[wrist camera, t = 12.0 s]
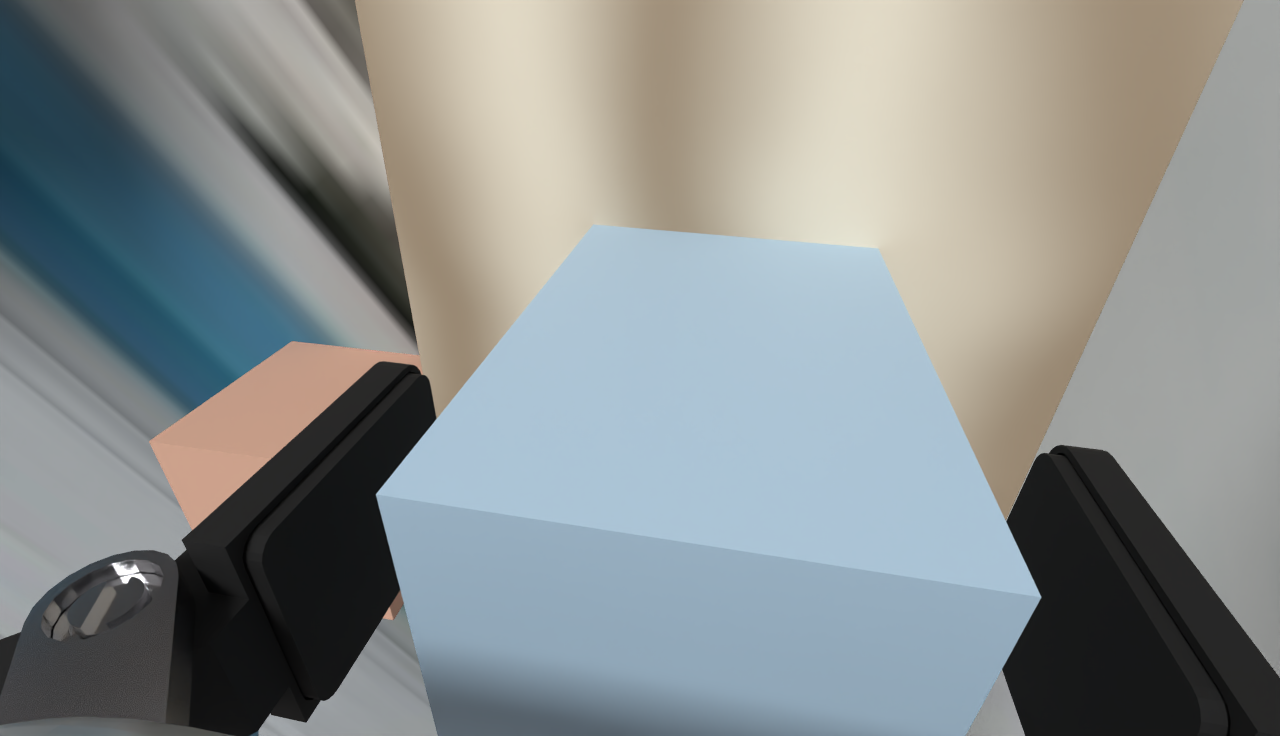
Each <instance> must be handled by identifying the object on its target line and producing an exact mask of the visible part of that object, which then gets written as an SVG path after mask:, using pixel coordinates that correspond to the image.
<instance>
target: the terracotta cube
mask: <svg viewBox="0 0 1280 736" xmlns="http://www.w3.org/2000/svg"><path fill="white" fill-rule="evenodd" d="M380 361H386V362H394V363H403V364H411V365H415V366H417V367H418V369H419V370H420V372H421V375H423V371H422V366H421V360H420V356H419V355H410V354H401V353H392V352H383V351H375V350H366V349H357V348H348V347H339V346H330V345H321V344H312V343H303V342H294V341H292V342H290V343H289V344H287V345H286V346H285V347H283V348H282V349H280V350H279V351H277V352H276V353H275V354H273V355H272V356H270V357H269V358H267V359H266V360H265V361H263V362H262V363H260V364H259V365H257V366H256V367H255V368H253V369H252V370H250V371H249V372H247V373H246V374H245V375H243V376H242V377H240V378H239V379H237V380H236V381H235V382H233V383H232V384H230V385H229V386H227V387H226V388H225V389H223V390H222V391H220V392H219V393H217V394H216V395H215V396H213V397H212V398H210V399H209V400H207V401H206V402H205V403H203V404H202V405H200V406H199V407H197V408H196V409H195V410H193V411H192V412H190V413H189V414H187V415H186V416H185V417H183V418H182V419H180V420H179V421H177V422H176V423H175V424H173V425H172V426H170V427H169V428H167V429H166V430H165V431H163V432H162V433H160V434H159V435H157V436H156V437H155V438H153V439H152V440H150V441H149V443H150V445H151V447H152V449H153V451H154V453H155V455H156V457H157V459H158V461H159V463H160V465H161V467H162V469H163V471H164V473H165V475H166V477H167V479H168V481H169V483H170V486H171V488H172V490H173V492H174V494H175V496H176V498H177V500H178V502H179V504H180V506H181V508H182V510H183V512H184V514H185V516H186V518H187V520H188V522H189V524H190V526H191V528H192V530H193V529H194V528H195V527H197V526H198V525H199V524H200V523H201V522H202V521H203V520H204V519H205V518H206V517H208V516H209V515H210V514H211V513H212V512H213V511H214V510H215V509H216V508H217V507H219V506H220V505H221V504H222V503H223V502H224V501H225V500H226V499H227V498H228V497H230V496H231V495H232V494H233V493H234V492H235V491H236V490H237V489H238V488H239V487H241V486H242V485H243V484H244V483H245V482H246V481H247V480H248V479H249V478H250V477H252V476H253V475H254V474H255V473H256V472H257V471H258V470H259V469H260V468H261V467H263V466H264V465H265V464H266V463H267V462H268V461H269V460H270V459H271V458H272V457H274V456H275V455H276V454H277V453H278V452H279V451H280V450H281V449H282V448H283V447H285V446H286V445H287V444H288V443H289V442H290V441H291V440H292V439H293V438H294V437H296V436H297V435H298V434H299V433H300V432H301V431H302V430H303V429H304V428H305V427H307V426H308V425H309V424H310V423H311V422H312V421H313V420H314V419H315V418H316V417H318V416H319V415H320V414H321V413H322V412H323V411H324V410H325V409H326V408H327V407H329V406H330V405H331V404H332V403H333V402H334V401H335V400H336V399H337V398H338V397H340V396H341V395H342V394H343V393H344V392H345V391H346V390H347V389H348V388H349V387H351V386H352V385H353V384H354V383H355V382H356V381H357V380H358V379H359V378H360V377H361V376H363V375H364V374H365V373H366V372H367V371H368V370H369V369H370V368H371V367H372V366H374V365H375V364H376V363H378V362H380ZM403 604H404V602H403V598H402V594H401V590H400V591H399V593H398V595H397V596H396V598H395V599H394V601H393V602H392V604H391V606H390V607H389V609H388V610H387V612H386V614H385V615H384V617H383V618H384V619H390V620H394V619H395V617H396V615H397V614H398V612H399V610H400V609H401V607H402V605H403Z"/></svg>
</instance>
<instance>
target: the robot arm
mask: <svg viewBox="0 0 1280 736" xmlns="http://www.w3.org/2000/svg"><path fill="white" fill-rule="evenodd" d="M436 419H437V418H436V413H435V407H434V402H433V396H432V391H431V385H430V381H429V379H428V377H427V376H425V375H421V372H420V370H419V369H418V367H417V366H415V365H411V364H403V363H394V362H386V361H380V362H378V363H376V364H375V365H374V366H372V367H371V368H370V369H369V370H368V371H367V372H366V373H365V374H364V375H363V376H361V377H360V378H359V379H358V380H357V381H356V382H355V383H354V384H353V385H352V386H351V387H349V388H348V389H347V390H346V391H345V392H344V393H343V394H342V395H341V396H340V397H338V398H337V399H336V400H335V401H334V402H333V403H332V404H331V405H330V406H329V407H327V408H326V409H325V410H324V411H323V412H322V413H321V414H320V415H319V416H318V417H316V418H315V419H314V420H313V421H312V422H311V423H310V424H309V425H308V426H307V427H305V428H304V429H303V430H302V431H301V432H300V433H299V434H298V435H297V436H296V437H294V438H293V439H292V440H291V441H290V442H289V443H288V444H287V445H286V446H285V447H283V448H282V449H281V450H280V451H279V452H278V453H277V454H276V455H275V456H274V457H272V458H271V459H270V460H269V461H268V462H267V463H266V464H265V465H264V466H263V467H261V468H260V469H259V470H258V471H257V472H256V473H255V474H254V475H253V476H252V477H250V478H249V479H248V480H247V481H246V482H245V483H244V484H243V485H242V486H241V487H239V488H238V489H237V490H236V491H235V492H234V493H233V494H232V495H231V496H230V497H228V498H227V499H226V500H225V501H224V502H223V503H222V504H221V505H220V506H219V507H217V508H216V509H215V510H214V511H213V512H212V513H211V514H210V515H209V516H208V517H206V518H205V519H204V520H203V521H202V522H201V523H200V524H199V525H198V526H197V527H195V528H194V529H193V530H192V531H191V532H190V533H189V534H188V535H187V536H186V537H184V538H183V539H182V541H183V543H184V545H185V547H186V549H187V550H186V551H185V552H184V553H182V554H181V555H180V556H179V557H178V558H177V559H176V560H175V561H174V560H173V559H172V558H171V557H170V556H169V555H168V554H165V553H161V552H158V551H154V550H143V551H131V552H126V553H122V554H117V555H113V556H110V557H108V558H105V559H102V560H100V561H97V562H94V563H92V564H89V565H88V566H86V567H84V568H82V569H80V570H78V571H77V572H75V573H73V574H71V575H69V576H68V577H66V578H65V579H64V580H62V581H61V582H60V583H58V584H57V585H56V586H54V587H53V588H52V589H50V590H49V591H48V592H47V593H46V594H45V595H44V596H43V597H42V598H41V599H40V600H39V601H38V602H37V603H36V604H35V606H34V607H33V608H32V610H31V612H30V613H29V615H28V617H27V619H26V621H25V622H24V625H23V628H22V631H21V632H20V633H17V634H15V635H12V636H9V637H6V638H4V639H1V640H0V736H258V730H259V728H260V727H261V726H262V724H263V723H264V721H265V720H266V718H267V717H268V716H269V714H270V713H271V715H274V716H279V717H283V718H288V719H292V720H297V721H301V722H307V721H308V719H309V718H310V716H311V714H312V713H313V711H314V710H315V708H316V707H317V705H318V704H319V702H320V701H321V700H322V701H325V700H327V699H329V698H330V697H331V696H333V695H334V693H335V692H336V691H337V689H338V688H339V686H340V685H341V683H342V681H343V680H344V678H345V677H346V675H347V674H348V672H349V670H350V669H351V667H352V666H353V664H354V662H355V661H356V659H357V658H358V656H359V655H360V653H361V651H362V650H363V648H364V647H365V645H366V644H367V642H368V640H369V639H370V637H371V636H372V634H373V632H374V631H375V629H376V628H377V626H378V625H379V623H380V621H381V620H382V618H383V617H384V615H385V614H386V612H387V610H388V609H389V607H390V606H391V604H392V602H393V601H394V599H395V598H396V596H397V595H398V593H399V591H400V586H399V583H398V579H397V575H396V571H395V567H394V563H393V559H392V555H391V551H390V548H389V544H388V540H387V536H386V532H385V528H384V524H383V520H382V516H381V513H380V509H379V505H378V501H377V497H376V494H377V492H378V491H379V490H380V489H381V487H382V486H383V485H384V484H385V482H386V481H387V480H388V479H389V478H390V476H391V475H392V474H393V473H394V471H395V470H396V469H397V468H398V466H399V465H400V464H401V463H402V461H403V460H404V459H405V458H406V456H407V455H408V454H409V453H410V451H411V450H412V449H413V448H414V446H415V445H416V444H417V443H418V442H419V440H420V439H421V438H422V437H423V435H424V434H425V433H426V432H427V430H428V429H429V428H430V427H431V425H432V424H433V423H434V422H435V420H436ZM1006 523H1007V525H1008V527H1009V529H1010V531H1011V533H1012V535H1013V538H1014V540H1015V542H1016V544H1017V546H1018V548H1019V550H1020V553H1021V555H1022V557H1023V559H1024V561H1025V563H1026V565H1027V568H1028V570H1029V572H1030V574H1031V576H1032V578H1033V580H1034V583H1035V585H1036V587H1037V589H1038V591H1039V593H1040V595H1041V599H1040V601H1039V603H1038V604H1037V606H1036V608H1035V610H1034V612H1033V614H1032V615H1031V617H1030V619H1029V621H1028V623H1027V625H1026V626H1025V628H1024V630H1023V632H1022V634H1021V635H1020V637H1019V639H1018V641H1017V643H1016V645H1015V646H1014V648H1013V650H1012V652H1011V654H1010V655H1009V657H1008V659H1007V661H1006V663H1005V665H1004V666H1003V668H1002V670H1003V673H1004V676H1005V679H1006V682H1007V684H1008V687H1009V690H1010V693H1011V696H1012V699H1013V702H1014V705H1015V708H1016V710H1017V713H1018V716H1019V719H1020V722H1021V725H1022V728H1023V731H1024V733H1025V736H1280V678H1279V676H1278V675H1277V674H1276V672H1275V671H1274V670H1273V668H1272V667H1271V666H1270V664H1269V663H1268V662H1267V660H1266V659H1265V658H1264V656H1263V655H1262V654H1261V652H1260V651H1259V650H1258V648H1257V647H1256V646H1255V644H1254V643H1253V642H1252V640H1251V639H1250V638H1249V636H1248V635H1247V634H1246V632H1245V631H1244V630H1243V629H1242V627H1241V626H1240V625H1239V623H1238V622H1237V621H1236V619H1235V618H1234V617H1233V615H1232V614H1231V613H1230V611H1229V610H1228V609H1227V607H1226V606H1225V605H1224V603H1223V602H1222V601H1221V599H1220V598H1219V597H1218V595H1217V594H1216V593H1215V591H1214V590H1213V589H1212V587H1211V586H1210V585H1209V583H1208V582H1207V581H1206V579H1205V578H1204V577H1203V576H1202V574H1201V573H1200V572H1199V570H1198V569H1197V568H1196V566H1195V565H1194V564H1193V562H1192V561H1191V560H1190V558H1189V557H1188V556H1187V554H1186V553H1185V552H1184V550H1183V549H1182V548H1181V546H1180V545H1179V544H1178V542H1177V541H1176V540H1175V538H1174V537H1173V536H1172V534H1171V533H1170V532H1169V530H1168V529H1167V528H1166V526H1165V525H1164V524H1163V523H1162V521H1161V520H1160V519H1159V517H1158V516H1157V515H1156V513H1155V512H1154V511H1153V509H1152V508H1151V507H1150V505H1149V504H1148V503H1147V501H1146V500H1145V499H1144V497H1143V496H1142V495H1141V493H1140V492H1139V491H1138V489H1137V488H1136V487H1135V485H1134V484H1133V483H1132V481H1131V480H1130V479H1129V477H1128V476H1127V475H1126V473H1125V472H1124V471H1123V469H1122V468H1121V467H1120V466H1119V464H1118V463H1117V462H1116V460H1115V459H1114V458H1113V456H1112V455H1110V454H1109V453H1108V452H1106V451H1103V450H1097V449H1089V448H1081V447H1073V446H1065V445H1059V446H1056V447H1054V448H1053V449H1052V450H1051V451H1050V453H1049V454H1047V453H1043V454H1040V455H1039V456H1038V457H1037V458H1036V460H1035V461H1034V463H1033V466H1032V468H1031V470H1030V472H1029V474H1028V476H1027V478H1026V481H1025V483H1024V485H1023V487H1022V489H1021V491H1020V494H1019V496H1018V498H1017V500H1016V502H1015V504H1014V506H1013V509H1012V511H1011V513H1010V515H1009V517H1008V519H1007V521H1006Z"/></svg>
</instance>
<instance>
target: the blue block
mask: <svg viewBox="0 0 1280 736" xmlns="http://www.w3.org/2000/svg"><path fill="white" fill-rule="evenodd" d="M376 497H377V501H378V505H379V509H380V513H381V516H382V520H383V524H384V528H385V532H386V536H387V540H388V544H389V548H390V551H391V555H392V559H393V563H394V567H395V571H396V575H397V579H398V583H399V586H400V590H401V594H402V598H403V602H404V606H405V610H406V614H407V617H408V621H409V625H410V629H411V633H412V637H413V641H414V645H415V649H416V652H417V656H418V660H419V664H420V668H421V672H422V676H423V680H424V683H425V687H426V691H427V695H428V699H429V703H430V707H431V711H432V715H433V718H434V722H435V726H436V730H437V734H438V736H966V734H967V732H968V730H969V728H970V726H971V725H972V723H973V721H974V719H975V717H976V715H977V714H978V712H979V710H980V708H981V706H982V705H983V703H984V701H985V699H986V697H987V695H988V694H989V692H990V690H991V688H992V686H993V685H994V683H995V681H996V679H997V677H998V675H999V674H1000V672H1001V670H1002V668H1003V666H1004V665H1005V663H1006V661H1007V659H1008V657H1009V655H1010V654H1011V652H1012V650H1013V648H1014V646H1015V645H1016V643H1017V641H1018V639H1019V637H1020V635H1021V634H1022V632H1023V630H1024V628H1025V626H1026V625H1027V623H1028V621H1029V619H1030V617H1031V615H1032V614H1033V612H1034V610H1035V608H1036V606H1037V604H1038V603H1039V601H1040V599H1041V595H1040V593H1039V591H1038V589H1037V587H1036V585H1035V583H1034V580H1033V578H1032V576H1031V574H1030V572H1029V570H1028V568H1027V565H1026V563H1025V561H1024V559H1023V557H1022V555H1021V553H1020V550H1019V548H1018V546H1017V544H1016V542H1015V540H1014V538H1013V535H1012V533H1011V531H1010V529H1009V527H1008V525H1007V523H1006V520H1005V518H1004V516H1003V514H1002V512H1001V510H1000V508H999V506H998V503H997V501H996V499H995V497H994V495H993V493H992V491H991V488H990V486H989V484H988V482H987V480H986V478H985V476H984V473H983V471H982V469H981V467H980V465H979V463H978V461H977V458H976V456H975V454H974V452H973V450H972V448H971V446H970V443H969V441H968V439H967V437H966V435H965V433H964V431H963V428H962V426H961V424H960V422H959V420H958V418H957V416H956V414H955V411H954V409H953V407H952V405H951V403H950V401H949V399H948V396H947V394H946V392H945V390H944V388H943V386H942V384H941V381H940V379H939V377H938V375H937V373H936V371H935V369H934V366H933V364H932V362H931V360H930V358H929V356H928V354H927V351H926V349H925V347H924V345H923V343H922V341H921V339H920V337H919V334H918V332H917V330H916V328H915V326H914V324H913V322H912V319H911V317H910V315H909V313H908V311H907V309H906V307H905V304H904V302H903V300H902V298H901V296H900V294H899V292H898V289H897V287H896V285H895V283H894V281H893V279H892V277H891V274H890V272H889V270H888V268H887V266H886V264H885V262H884V260H883V257H882V255H881V253H880V251H879V249H878V248H867V247H855V246H843V245H831V244H819V243H808V242H796V241H784V240H772V239H760V238H748V237H736V236H724V235H713V234H701V233H689V232H677V231H665V230H653V229H641V228H629V227H618V226H606V225H594V224H593V225H592V227H591V228H590V229H589V230H588V232H587V233H586V234H585V235H584V237H583V238H582V239H581V240H580V242H579V243H578V244H577V245H576V247H575V248H574V249H573V250H572V252H571V253H570V254H569V255H568V257H567V258H566V259H565V260H564V261H563V263H562V264H561V265H560V266H559V268H558V269H557V270H556V271H555V273H554V274H553V275H552V276H551V278H550V279H549V280H548V281H547V283H546V284H545V285H544V286H543V288H542V289H541V290H540V291H539V293H538V294H537V295H536V296H535V297H534V299H533V300H532V301H531V302H530V304H529V305H528V306H527V307H526V309H525V310H524V311H523V312H522V314H521V315H520V316H519V317H518V319H517V320H516V321H515V322H514V324H513V325H512V326H511V327H510V329H509V330H508V331H507V332H506V333H505V335H504V336H503V337H502V338H501V340H500V341H499V342H498V343H497V345H496V346H495V347H494V348H493V350H492V351H491V352H490V353H489V355H488V356H487V357H486V358H485V360H484V361H483V362H482V363H481V365H480V366H479V367H478V368H477V370H476V371H475V372H474V373H473V374H472V376H471V377H470V378H469V379H468V381H467V382H466V383H465V384H464V386H463V387H462V388H461V389H460V391H459V392H458V393H457V394H456V396H455V397H454V398H453V399H452V401H451V402H450V403H449V404H448V406H447V407H446V408H445V409H444V410H443V412H442V413H441V414H440V415H439V417H438V418H437V419H436V420H435V422H434V423H433V424H432V425H431V427H430V428H429V429H428V430H427V432H426V433H425V434H424V435H423V437H422V438H421V439H420V440H419V442H418V443H417V444H416V445H415V446H414V448H413V449H412V450H411V451H410V453H409V454H408V455H407V456H406V458H405V459H404V460H403V461H402V463H401V464H400V465H399V466H398V468H397V469H396V470H395V471H394V473H393V474H392V475H391V476H390V478H389V479H388V480H387V481H386V482H385V484H384V485H383V486H382V487H381V489H380V490H379V491H378V492H377V494H376Z"/></svg>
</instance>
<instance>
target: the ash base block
mask: <svg viewBox="0 0 1280 736" xmlns="http://www.w3.org/2000/svg"><path fill="white" fill-rule="evenodd" d="M1243 1H1244V0H355V3H356V9H357V14H358V20H359V25H360V31H361V36H362V42H363V47H364V53H365V58H366V64H367V69H368V75H369V80H370V86H371V91H372V97H373V102H374V108H375V113H376V119H377V124H378V130H379V135H380V141H381V146H382V152H383V157H384V163H385V168H386V174H387V179H388V185H389V190H390V196H391V201H392V207H393V212H394V218H395V223H396V229H397V234H398V240H399V245H400V251H401V256H402V262H403V267H404V273H405V278H406V284H407V289H408V295H409V300H410V306H411V311H412V316H413V322H414V327H415V333H416V338H417V344H418V349H419V355H420V360H421V366H422V371H423V375H425V376H427V377H428V379H429V381H430V385H431V391H432V396H433V402H434V407H435V413H436V418H438V417H439V415H440V414H441V413H442V412H443V410H444V409H445V408H446V407H447V406H448V404H449V403H450V402H451V401H452V399H453V398H454V397H455V396H456V394H457V393H458V392H459V391H460V389H461V388H462V387H463V386H464V384H465V383H466V382H467V381H468V379H469V378H470V377H471V376H472V374H473V373H474V372H475V371H476V370H477V368H478V367H479V366H480V365H481V363H482V362H483V361H484V360H485V358H486V357H487V356H488V355H489V353H490V352H491V351H492V350H493V348H494V347H495V346H496V345H497V343H498V342H499V341H500V340H501V338H502V337H503V336H504V335H505V333H506V332H507V331H508V330H509V329H510V327H511V326H512V325H513V324H514V322H515V321H516V320H517V319H518V317H519V316H520V315H521V314H522V312H523V311H524V310H525V309H526V307H527V306H528V305H529V304H530V302H531V301H532V300H533V299H534V297H535V296H536V295H537V294H538V293H539V291H540V290H541V289H542V288H543V286H544V285H545V284H546V283H547V281H548V280H549V279H550V278H551V276H552V275H553V274H554V273H555V271H556V270H557V269H558V268H559V266H560V265H561V264H562V263H563V261H564V260H565V259H566V258H567V257H568V255H569V254H570V253H571V252H572V250H573V249H574V248H575V247H576V245H577V244H578V243H579V242H580V240H581V239H582V238H583V237H584V235H585V234H586V233H587V232H588V230H589V229H590V228H591V227H592V225H593V224H594V225H606V226H618V227H629V228H641V229H653V230H665V231H677V232H689V233H701V234H713V235H724V236H736V237H748V238H760V239H772V240H784V241H796V242H808V243H819V244H831V245H843V246H855V247H867V248H878V249H879V251H880V253H881V255H882V257H883V260H884V262H885V264H886V266H887V268H888V270H889V272H890V274H891V277H892V279H893V281H894V283H895V285H896V287H897V289H898V292H899V294H900V296H901V298H902V300H903V302H904V304H905V307H906V309H907V311H908V313H909V315H910V317H911V319H912V322H913V324H914V326H915V328H916V330H917V332H918V334H919V337H920V339H921V341H922V343H923V345H924V347H925V349H926V351H927V354H928V356H929V358H930V360H931V362H932V364H933V366H934V369H935V371H936V373H937V375H938V377H939V379H940V381H941V384H942V386H943V388H944V390H945V392H946V394H947V396H948V399H949V401H950V403H951V405H952V407H953V409H954V411H955V414H956V416H957V418H958V420H959V422H960V424H961V426H962V428H963V431H964V433H965V435H966V437H967V439H968V441H969V443H970V446H971V448H972V450H973V452H974V454H975V456H976V458H977V461H978V463H979V465H980V467H981V469H982V471H983V473H984V476H985V478H986V480H987V482H988V484H989V486H990V488H991V491H992V493H993V495H994V497H995V499H996V501H997V503H998V506H999V508H1000V510H1001V512H1002V514H1003V516H1004V518H1005V520H1006V519H1007V517H1008V514H1009V512H1010V510H1011V508H1012V506H1013V504H1014V501H1015V499H1016V497H1017V495H1018V493H1019V490H1020V488H1021V486H1022V484H1023V482H1024V480H1025V477H1026V475H1027V473H1028V471H1029V469H1030V466H1031V464H1032V462H1033V460H1034V458H1035V455H1036V453H1037V451H1038V449H1039V447H1040V445H1041V442H1042V440H1043V438H1044V436H1045V434H1046V431H1047V429H1048V427H1049V425H1050V423H1051V421H1052V418H1053V416H1054V414H1055V412H1056V410H1057V407H1058V405H1059V403H1060V401H1061V399H1062V397H1063V394H1064V392H1065V390H1066V388H1067V386H1068V383H1069V381H1070V379H1071V377H1072V375H1073V372H1074V370H1075V368H1076V366H1077V364H1078V362H1079V359H1080V357H1081V355H1082V353H1083V351H1084V348H1085V346H1086V344H1087V342H1088V340H1089V338H1090V335H1091V333H1092V331H1093V329H1094V327H1095V324H1096V322H1097V320H1098V318H1099V316H1100V313H1101V311H1102V309H1103V307H1104V305H1105V303H1106V300H1107V298H1108V296H1109V294H1110V292H1111V289H1112V287H1113V285H1114V283H1115V281H1116V279H1117V276H1118V274H1119V272H1120V270H1121V268H1122V265H1123V263H1124V261H1125V259H1126V257H1127V254H1128V252H1129V250H1130V248H1131V246H1132V244H1133V241H1134V239H1135V237H1136V235H1137V233H1138V230H1139V228H1140V226H1141V224H1142V222H1143V220H1144V217H1145V215H1146V213H1147V211H1148V209H1149V206H1150V204H1151V202H1152V200H1153V198H1154V196H1155V193H1156V191H1157V189H1158V187H1159V185H1160V182H1161V180H1162V178H1163V176H1164V174H1165V171H1166V169H1167V167H1168V165H1169V163H1170V161H1171V158H1172V156H1173V154H1174V152H1175V150H1176V147H1177V145H1178V143H1179V141H1180V139H1181V137H1182V134H1183V132H1184V130H1185V128H1186V126H1187V123H1188V121H1189V119H1190V117H1191V115H1192V112H1193V110H1194V108H1195V106H1196V104H1197V102H1198V99H1199V97H1200V95H1201V93H1202V91H1203V88H1204V86H1205V84H1206V82H1207V80H1208V78H1209V75H1210V73H1211V71H1212V69H1213V67H1214V64H1215V62H1216V60H1217V58H1218V56H1219V53H1220V51H1221V49H1222V47H1223V45H1224V43H1225V40H1226V38H1227V36H1228V34H1229V32H1230V29H1231V27H1232V25H1233V23H1234V21H1235V19H1236V16H1237V14H1238V12H1239V10H1240V8H1241V5H1242V3H1243Z"/></svg>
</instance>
